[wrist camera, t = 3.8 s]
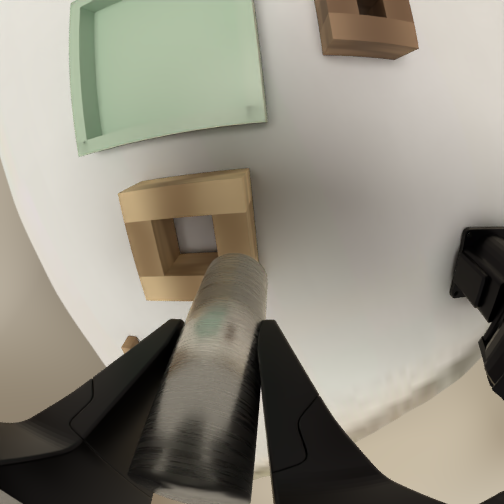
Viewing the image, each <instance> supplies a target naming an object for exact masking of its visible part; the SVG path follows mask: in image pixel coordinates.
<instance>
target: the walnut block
mask: <svg viewBox="0 0 504 504" xmlns="http://www.w3.org/2000/svg"><path fill="white" fill-rule="evenodd" d="M314 1H315V7H316V12H317V18H318V24H319V31H320V37H321V44H322V52H323V55H342V56H360V57H373V58H383V59H391V60H395V59H397V58H399V57H401V56H404V55H406V54H408V53H410V52H412V51H414V50H417V49H419V47H418V41H417V36H416V30H415V26H414V21H413V16H412V12H411V8H410V4H409V0H314Z"/></svg>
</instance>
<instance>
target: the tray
mask: <svg viewBox="0 0 504 504" xmlns="http://www.w3.org/2000/svg"><path fill="white" fill-rule="evenodd" d="M69 70H70V88H71V101H72V111H73V120H74V128H75V136H76V142H77V149H78V155H79V157H80V156H84V155H87V154H91V153H95V152H98V151H102V150H106V149H109V148H113V147H117V146H121V145H125V144H129V143H134V142H138V141H142V140H147V139H152V138H157V137H162V136H167V135H172V134H177V133H183V132H189V131H195V130H202V129H209V128H216V127H223V126H232V125H241V124H250V123H261V122H268V120H267V110H266V100H265V90H264V81H263V72H262V63H261V55H260V46H259V38H258V30H257V22H256V14H255V7H254V0H76V1H74V2H72V3H71V7H70V24H69Z"/></svg>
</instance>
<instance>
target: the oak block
mask: <svg viewBox="0 0 504 504" xmlns="http://www.w3.org/2000/svg"><path fill="white" fill-rule="evenodd" d="M118 196H119V201H120V205H121V210H122V214H123V218H124V223H125V227H126V231H127V235H128V239H129V242H130V246H131V250H132V253H133V257H134V261H135V264H136V268H137V271H138V274H139V278H140V281H141V284H142V287H143V290H144V294H145V297H146V300H150V301H194V299H195V296H196V294H197V292H198V289H199V287H200V285H201V282H202V280H203V277H204V275H205V273H206V271H207V268H208V266H209V265H210V263H211V262H212V261H213V260H214V259H216V258H217V257H219V256H221V255H224V254H228V253H240V254H245V255H248V256H250V257H252V258H254V259H255V260H256V261H258V262H259V260H258V250H257V240H256V230H255V220H254V210H253V200H252V190H251V181H250V171H249V168H245V169H234V170H224V171H214V172H205V173H197V174H189V175H181V176H174V177H167V178H160V179H153V180H147V181H141V182H139V183H137V184H135V185H133V186H132V187H130V188H128V189H126V190H124V191H122V192H120V193H118ZM204 215H212V219H213V226H214V232H215V239H216V245H217V251H218V252H207V253H185V254H180V250H179V245H178V240H177V236H176V231H175V226H174V221H173V218H180V217H191V216H204Z"/></svg>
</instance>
